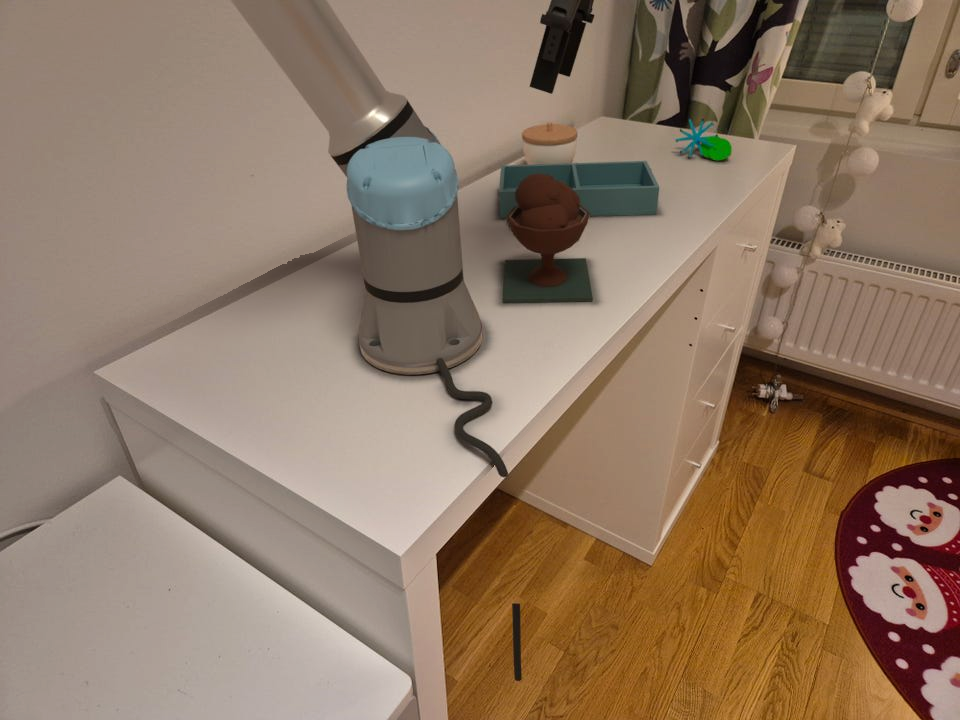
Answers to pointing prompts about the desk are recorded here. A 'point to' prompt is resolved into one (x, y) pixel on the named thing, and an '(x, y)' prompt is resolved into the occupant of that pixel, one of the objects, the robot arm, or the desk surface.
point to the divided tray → (591, 186)
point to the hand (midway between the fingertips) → (551, 81)
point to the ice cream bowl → (547, 223)
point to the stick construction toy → (707, 143)
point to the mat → (526, 292)
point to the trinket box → (549, 144)
